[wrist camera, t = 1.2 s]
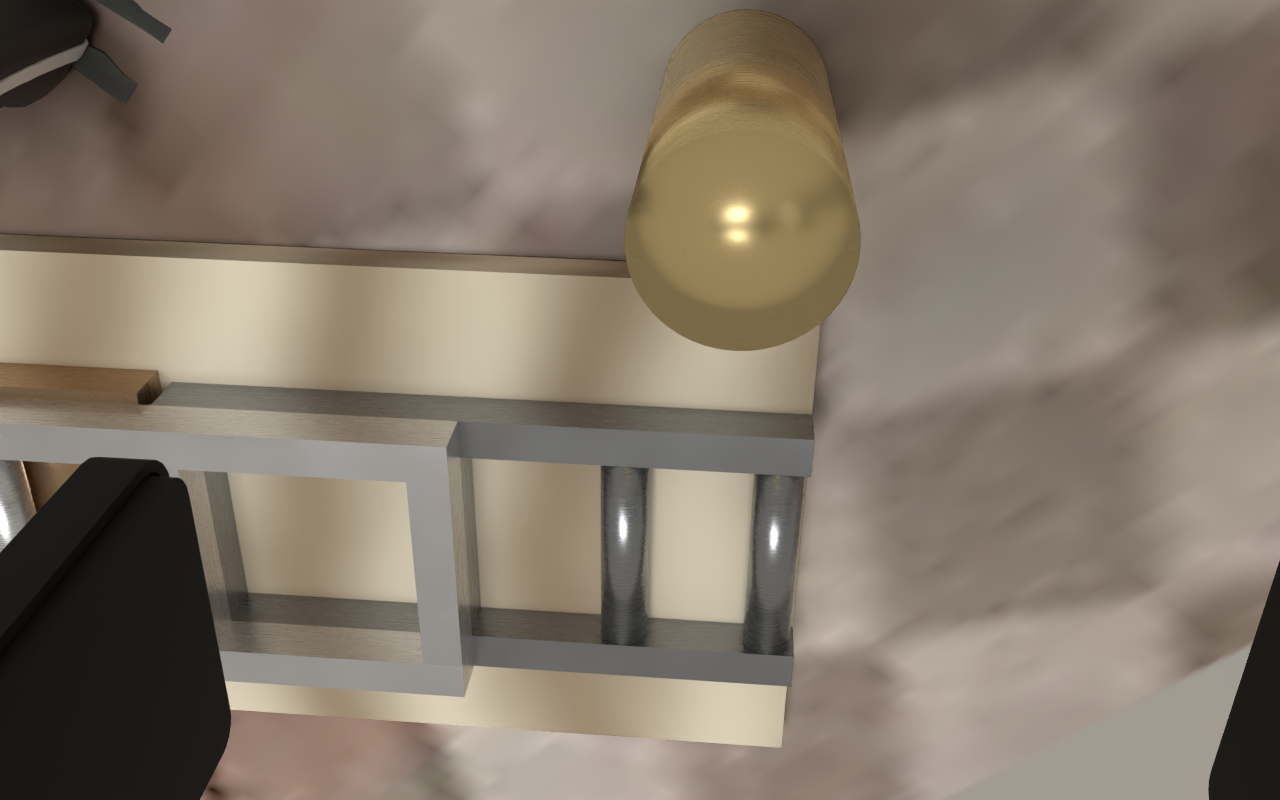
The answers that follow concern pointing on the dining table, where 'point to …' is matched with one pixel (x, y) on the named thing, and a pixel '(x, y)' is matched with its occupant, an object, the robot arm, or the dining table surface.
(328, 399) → the grey frame
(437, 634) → the grey flat barred piece
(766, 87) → the brass pin
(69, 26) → the battery charger
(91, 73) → the hatchet
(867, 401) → the dining table surface
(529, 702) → the birch board
